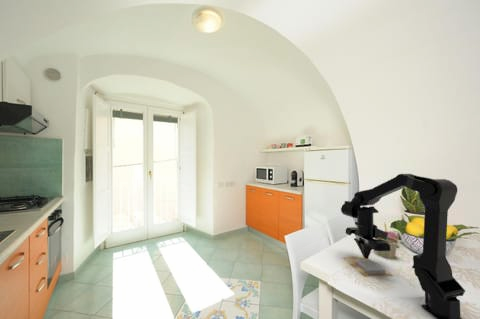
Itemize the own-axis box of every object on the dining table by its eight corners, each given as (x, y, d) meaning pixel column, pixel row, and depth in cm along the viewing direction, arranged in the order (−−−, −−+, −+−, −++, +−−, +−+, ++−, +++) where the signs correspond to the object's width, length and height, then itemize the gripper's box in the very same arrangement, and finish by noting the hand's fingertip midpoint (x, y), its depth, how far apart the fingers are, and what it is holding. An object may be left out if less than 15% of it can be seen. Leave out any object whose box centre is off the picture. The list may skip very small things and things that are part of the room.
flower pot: (404, 263, 81) (404, 244, 82) (380, 261, 83) (380, 242, 83) (391, 253, 90) (391, 236, 91) (370, 251, 92) (370, 234, 93)
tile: (371, 264, 78) (385, 274, 71) (356, 264, 78) (368, 274, 71) (371, 260, 78) (385, 269, 71) (355, 260, 78) (368, 270, 71)
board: (394, 278, 70) (394, 275, 70) (364, 279, 70) (364, 276, 70) (367, 259, 84) (367, 257, 84) (342, 260, 84) (342, 257, 84)
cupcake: (375, 243, 103) (375, 221, 103) (384, 240, 106) (384, 219, 106) (394, 249, 95) (393, 226, 95) (402, 246, 98) (402, 224, 99)
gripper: (403, 228, 69) (405, 270, 68) (367, 215, 87) (367, 248, 87) (375, 228, 68) (376, 271, 68) (344, 215, 87) (345, 248, 86)
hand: (366, 258), depth 77 cm, fingers closed
